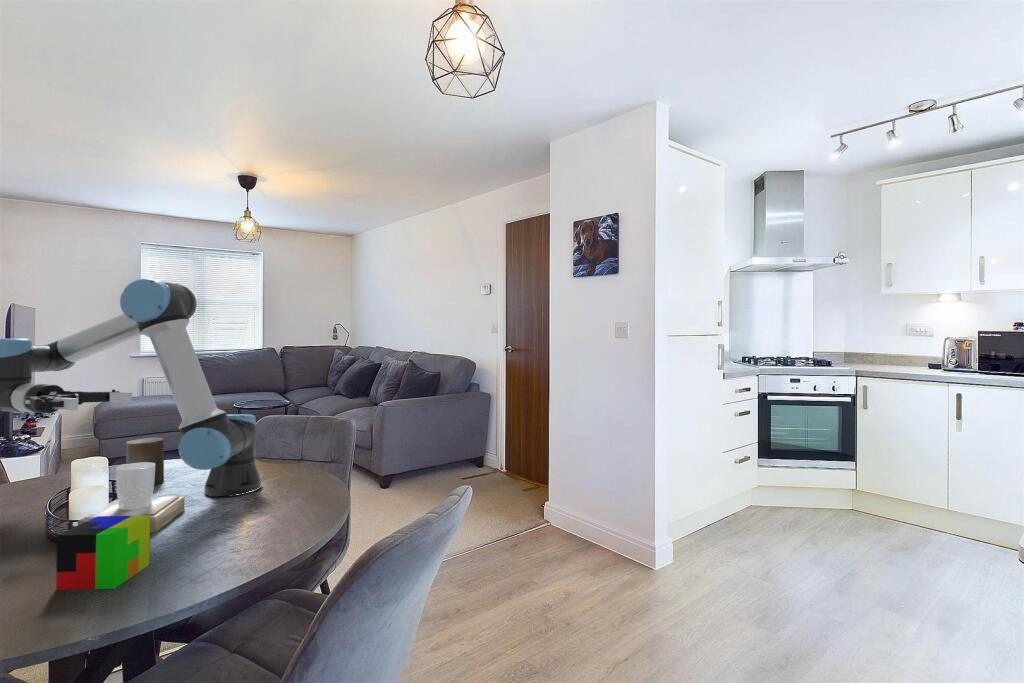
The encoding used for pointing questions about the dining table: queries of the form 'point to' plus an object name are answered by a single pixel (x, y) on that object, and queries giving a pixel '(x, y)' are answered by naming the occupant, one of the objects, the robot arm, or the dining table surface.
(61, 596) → the dining table surface
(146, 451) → the pillar candle
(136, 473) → the white cup
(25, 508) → the dining table surface
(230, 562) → the dining table surface
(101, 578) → the puzzle toy
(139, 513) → the oak riser
